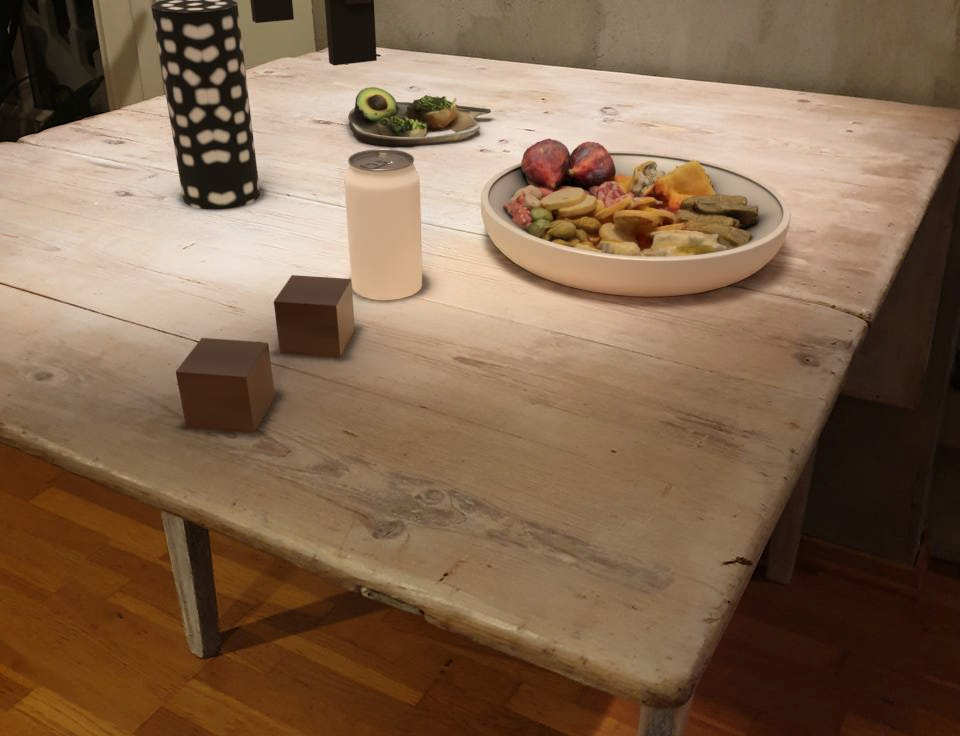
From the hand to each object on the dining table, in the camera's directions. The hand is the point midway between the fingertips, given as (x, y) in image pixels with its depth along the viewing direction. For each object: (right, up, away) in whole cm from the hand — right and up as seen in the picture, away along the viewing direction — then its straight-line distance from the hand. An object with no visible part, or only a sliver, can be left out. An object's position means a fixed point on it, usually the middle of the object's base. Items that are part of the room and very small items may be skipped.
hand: (310, 40), depth 62 cm
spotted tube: (-18, +2, +46) cm, 49 cm away
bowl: (+26, -6, +36) cm, 45 cm away
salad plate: (+1, +17, +68) cm, 70 cm away
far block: (-2, -17, +18) cm, 25 cm away
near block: (-7, -24, +9) cm, 26 cm away
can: (+2, -11, +27) cm, 30 cm away
